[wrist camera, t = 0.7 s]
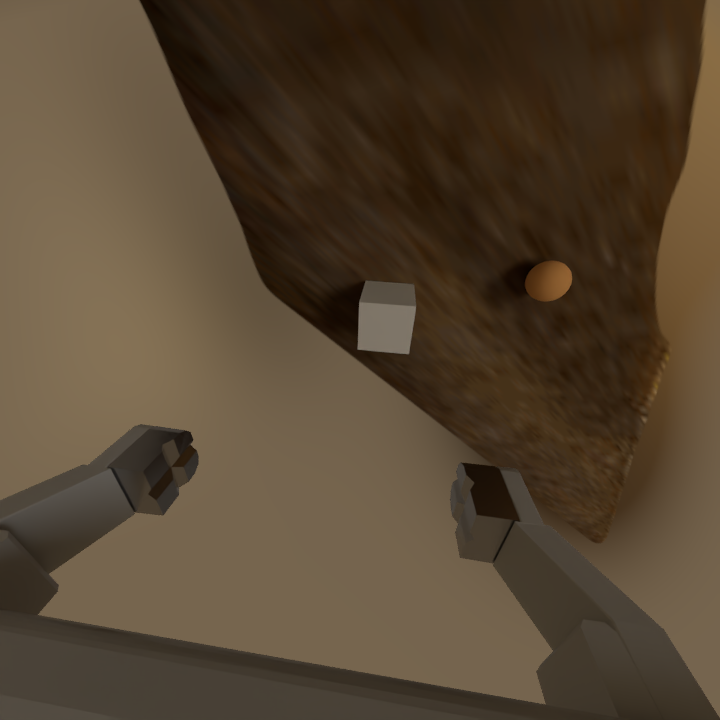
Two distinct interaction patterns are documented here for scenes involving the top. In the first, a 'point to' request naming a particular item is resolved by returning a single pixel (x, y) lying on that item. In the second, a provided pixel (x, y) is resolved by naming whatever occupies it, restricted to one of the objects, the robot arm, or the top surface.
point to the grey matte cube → (386, 317)
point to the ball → (548, 280)
